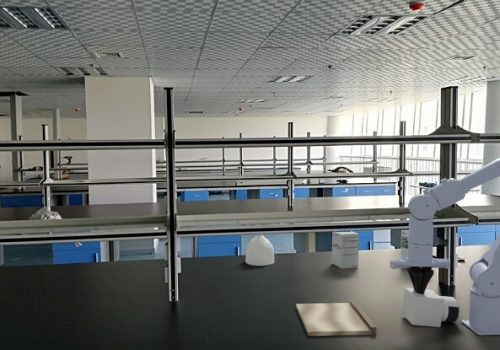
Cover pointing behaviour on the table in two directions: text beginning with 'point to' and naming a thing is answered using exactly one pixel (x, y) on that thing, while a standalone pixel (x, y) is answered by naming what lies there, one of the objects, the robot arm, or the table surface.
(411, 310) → the medicine bottle
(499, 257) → the robot arm
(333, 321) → the board
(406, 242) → the syrup box
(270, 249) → the teardrop
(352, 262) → the supplement box
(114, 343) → the table surface
